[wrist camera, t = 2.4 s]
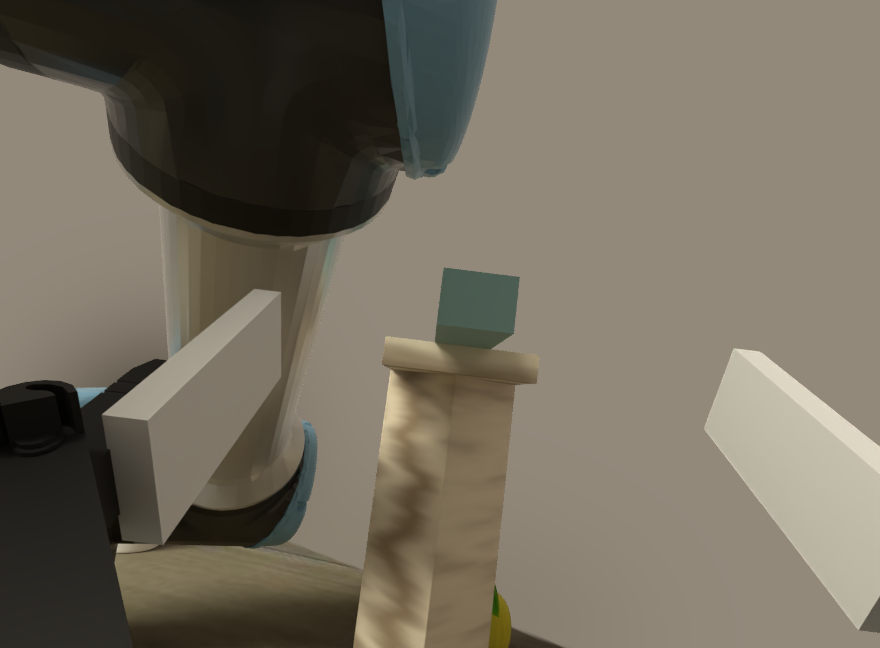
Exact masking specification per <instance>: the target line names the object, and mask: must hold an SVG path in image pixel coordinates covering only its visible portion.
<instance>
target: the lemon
mask: <svg viewBox="0 0 880 648" xmlns="http://www.w3.org/2000/svg"><path fill="white" fill-rule="evenodd" d="M510 637H511V618H510V613H509V609H508V606H507V604H506V602H505V601H504V599H503V598H502V596H501V595H499V594H498V593H497V590H496V586H495V588H494V597H493V607H492V617H491V627H490V636H489V646H488V648H508V646H509V643H510Z"/></svg>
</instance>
